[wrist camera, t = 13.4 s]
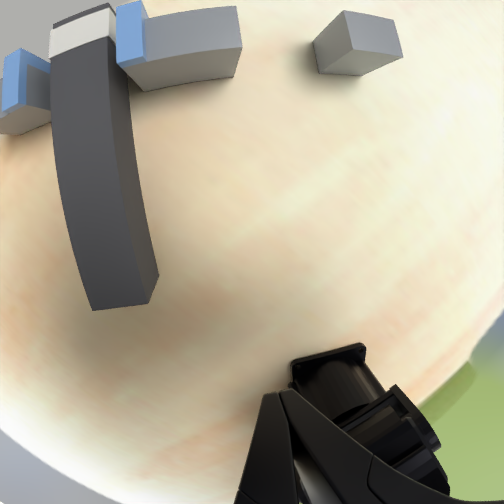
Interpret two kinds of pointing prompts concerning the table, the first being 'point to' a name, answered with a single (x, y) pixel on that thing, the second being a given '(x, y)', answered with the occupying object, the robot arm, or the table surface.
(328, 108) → the table surface
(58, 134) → the dark grey long bar
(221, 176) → the table surface
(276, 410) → the robot arm
